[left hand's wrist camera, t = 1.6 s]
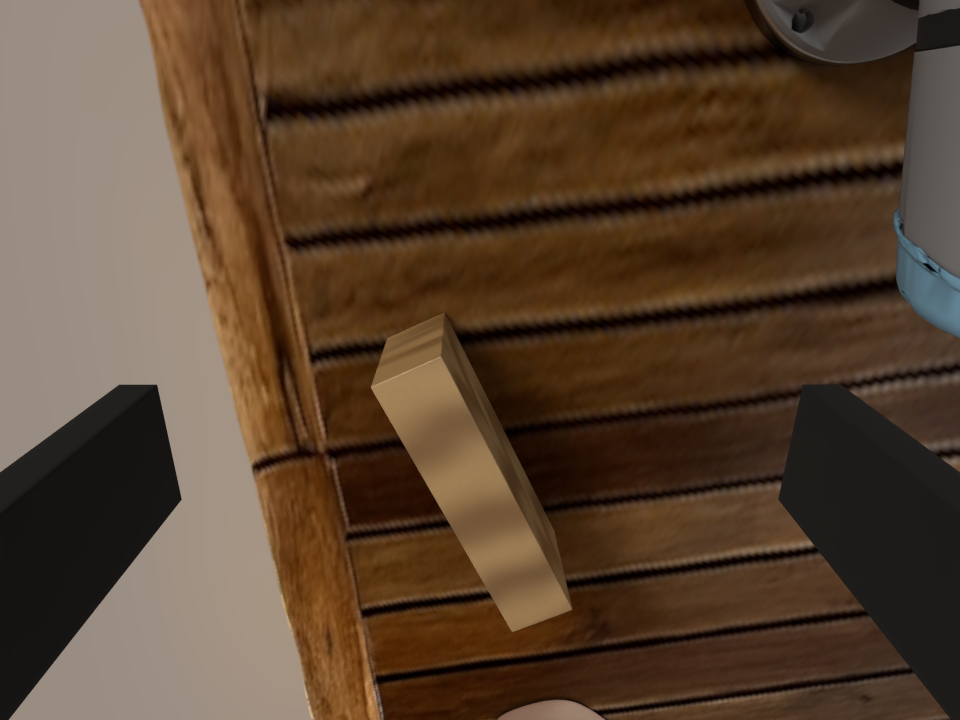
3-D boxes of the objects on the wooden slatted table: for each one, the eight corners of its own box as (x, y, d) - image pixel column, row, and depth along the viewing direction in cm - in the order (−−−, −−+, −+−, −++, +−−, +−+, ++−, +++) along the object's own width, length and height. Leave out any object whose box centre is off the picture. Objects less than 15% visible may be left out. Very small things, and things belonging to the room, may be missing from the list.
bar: (387, 338, 46) (370, 387, 38) (444, 312, 46) (441, 356, 37) (503, 550, 54) (512, 632, 45) (554, 530, 53) (572, 610, 45)
